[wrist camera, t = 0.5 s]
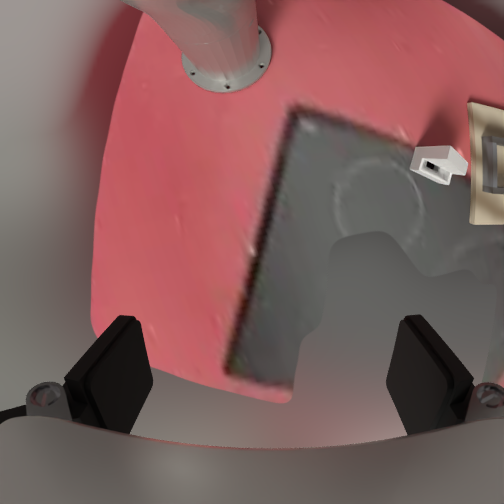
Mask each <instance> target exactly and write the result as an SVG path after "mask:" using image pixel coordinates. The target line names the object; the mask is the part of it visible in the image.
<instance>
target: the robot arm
mask: <svg viewBox="0 0 504 504" xmlns="http://www.w3.org/2000/svg"><path fill="white" fill-rule="evenodd" d="M121 1H123V2H125V3H127V4H129V5H131V6H133V7H135V8H137V9H139V10H141V11H143V12H145V13H146V14H148V15H149V16H150V17H151V18H153V19H154V20H155V21H156V22H157V23H158V25H159V26H160V27H161V28H162V29H163V30H164V31H165V32H166V34H167V35H168V36H169V37H170V38H171V39H172V41H173V42H174V43H175V44H176V45H177V46H178V48H179V49H180V50H181V51H182V65H183V67H184V70H185V72H186V74H187V75H188V77H189V78H190V79H191V80H192V81H193V82H194V83H195V84H196V85H198V86H199V87H201V88H203V89H205V90H208V91H211V92H216V93H232V92H236V91H240V90H243V89H245V88H248V87H249V86H251V85H253V84H254V83H255V82H257V81H258V80H259V79H260V78H261V77H262V76H263V74H264V73H265V72H266V70H267V68H268V66H269V64H270V60H271V44H270V41H269V38H268V36H267V34H266V33H265V31H264V30H263V29H262V28H261V27H260V26H259V25H258V21H257V11H256V1H255V0H121ZM259 33H260V35H259ZM260 66H263V68H260ZM193 73H195V75H192V74H193ZM227 86H230V88H229V89H227ZM64 379H65V383H64V385H63V386H62V385H60V384H59V383H56V382H43V383H40V384H37V385H36V386H34V387H33V388H31V390H29V392H28V393H27V395H26V405H23V406H19V407H16V408H12V409H8V410H4V411H1V412H0V504H504V388H503V387H502V386H500V385H498V384H495V383H491V382H484V383H480V384H478V385H477V386H474V385H473V383H472V382H473V379H474V378H473V376H472V375H471V374H470V373H469V371H468V370H467V369H466V367H465V366H464V365H463V364H462V362H461V361H460V360H459V359H458V358H457V356H456V355H455V354H454V353H453V351H452V350H451V349H450V348H449V347H448V345H447V344H446V343H445V342H444V341H443V340H442V338H441V337H440V336H439V335H438V334H437V332H436V331H435V330H434V329H433V328H432V327H431V326H430V324H429V323H428V322H427V321H426V320H425V319H424V318H423V317H422V316H421V315H409V316H405V318H404V320H401V321H400V324H399V328H398V333H397V338H396V342H395V346H394V351H393V355H392V359H391V363H390V367H389V371H388V375H387V379H386V385H387V389H388V391H389V393H390V395H391V398H392V400H393V402H394V404H395V407H396V409H397V411H398V413H399V416H400V418H401V421H402V423H403V425H404V428H405V430H406V432H407V436H402V437H396V438H391V439H385V440H378V441H372V442H365V443H356V444H347V445H337V446H326V447H325V446H324V447H310V448H309V447H308V448H278V449H277V448H272V449H271V448H235V447H219V446H207V445H195V444H187V443H179V442H172V441H164V440H158V439H152V438H146V437H141V436H136V435H130V432H131V429H132V427H133V425H134V423H135V421H136V419H137V417H138V415H139V413H140V410H141V409H142V407H143V404H144V403H145V400H146V398H147V396H148V394H149V392H150V390H151V388H152V386H153V377H152V373H151V369H150V364H149V360H148V356H147V351H146V347H145V342H144V337H143V333H142V328H141V323H140V321H139V320H136V318H135V317H134V316H124V315H119V316H118V317H117V318H116V319H115V320H114V321H113V322H112V324H111V325H110V326H109V327H108V328H107V329H106V330H105V331H104V332H103V333H102V335H101V336H100V337H99V338H98V339H97V340H96V341H95V342H94V344H93V345H92V346H91V347H90V348H89V349H88V350H87V352H86V353H85V354H84V355H83V356H82V357H81V358H80V360H79V361H78V362H77V363H76V364H75V365H74V367H73V368H72V369H71V370H70V372H68V374H67V375H66V376H65V377H64Z"/></svg>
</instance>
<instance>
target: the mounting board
mask: <svg viewBox="0 0 504 504" xmlns="http://www.w3.org/2000/svg"><path fill="white" fill-rule="evenodd" d="M467 109H468V119H469V130H470V147H471V205H470V222H469V223H471V224H474V225H490V224H504V110H501V109H497V108H493V107H489V106H486V105H481V104H477V103H473V102H470V103H467Z"/></svg>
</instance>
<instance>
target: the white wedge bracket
mask: <svg viewBox="0 0 504 504" xmlns="http://www.w3.org/2000/svg"><path fill="white" fill-rule="evenodd" d="M427 161H428V162H430V163H432V164H434V169H433V170H432V169H430V168H428V167H426V165H427ZM467 167H468V163H467V161H466V160H465V159H464V158H463V157H462V156H461V155H460V154H459V153H458V152H457V151H456V150H455V149H454V148H453V147H452V146H425V147H416V148H415V151H414V155H413V159H412V162H411V166H410V170H412V171H414V172H416V173H419V174H421V175H423V176H425V177H427V178H429V179H431V180H433V181H435V182H437V183H440V184H445V185H449V183H450V179H451V176H452V174H458V175H466V171H467Z"/></svg>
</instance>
